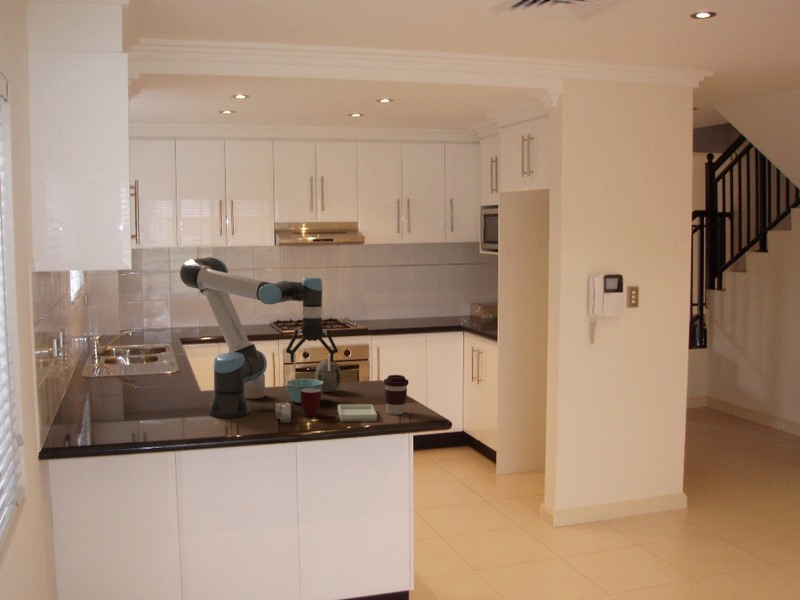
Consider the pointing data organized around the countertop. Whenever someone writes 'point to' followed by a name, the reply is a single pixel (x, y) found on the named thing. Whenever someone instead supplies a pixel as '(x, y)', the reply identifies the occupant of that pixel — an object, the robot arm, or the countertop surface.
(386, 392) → the coffee cup
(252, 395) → the planter
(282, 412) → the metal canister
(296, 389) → the bowl
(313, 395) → the mug
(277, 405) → the white marbled cube
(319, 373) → the decorative egg
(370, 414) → the tray
